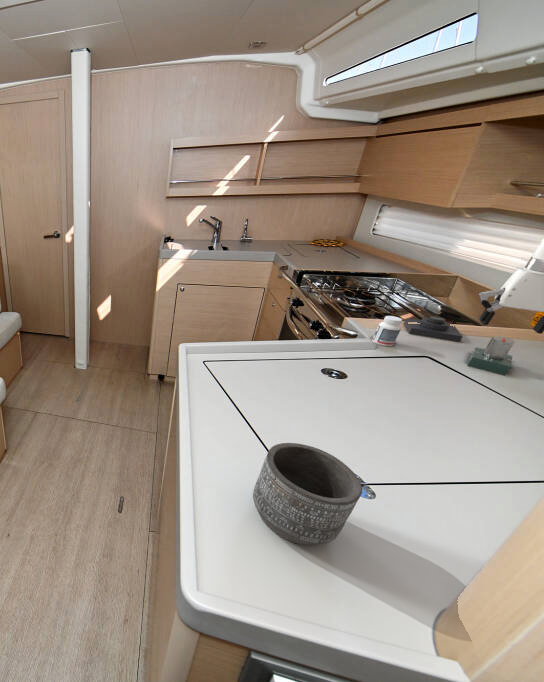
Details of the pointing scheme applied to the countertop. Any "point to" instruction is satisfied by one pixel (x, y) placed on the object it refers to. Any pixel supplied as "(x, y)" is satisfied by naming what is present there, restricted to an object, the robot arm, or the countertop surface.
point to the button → (436, 320)
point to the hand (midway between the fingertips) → (509, 327)
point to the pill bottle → (387, 331)
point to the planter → (305, 493)
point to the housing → (433, 330)
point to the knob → (498, 347)
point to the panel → (489, 362)
